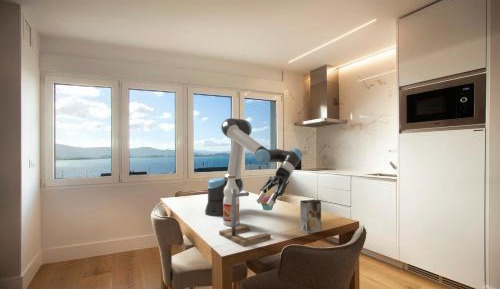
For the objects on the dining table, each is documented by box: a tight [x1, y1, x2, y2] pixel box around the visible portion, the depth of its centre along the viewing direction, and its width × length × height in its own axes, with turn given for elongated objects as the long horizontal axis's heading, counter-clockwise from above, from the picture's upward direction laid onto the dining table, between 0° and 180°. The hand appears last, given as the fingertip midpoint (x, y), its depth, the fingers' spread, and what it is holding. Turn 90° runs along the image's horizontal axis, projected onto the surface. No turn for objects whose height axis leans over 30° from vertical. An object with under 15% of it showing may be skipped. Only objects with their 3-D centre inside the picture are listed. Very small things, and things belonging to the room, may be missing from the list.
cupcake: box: [260, 187, 277, 212], centre depth 144 cm, size 9×8×12 cm
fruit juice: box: [222, 175, 240, 227], centre depth 158 cm, size 9×9×28 cm
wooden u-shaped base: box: [218, 224, 272, 247], centre depth 135 cm, size 20×17×2 cm
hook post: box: [231, 189, 250, 236], centre depth 133 cm, size 2×10×22 cm, turn 128°
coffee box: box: [299, 199, 322, 234], centre depth 144 cm, size 9×6×16 cm
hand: (262, 203), depth 142 cm, fingers closed on cupcake, 8 cm apart
